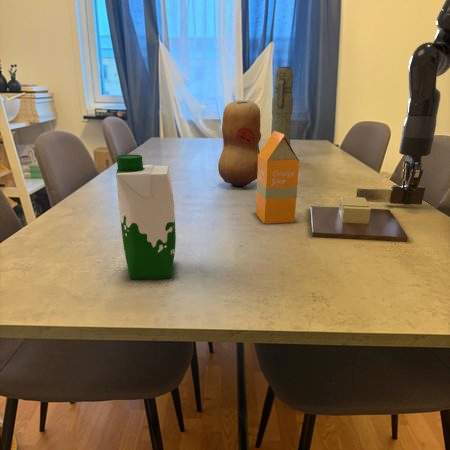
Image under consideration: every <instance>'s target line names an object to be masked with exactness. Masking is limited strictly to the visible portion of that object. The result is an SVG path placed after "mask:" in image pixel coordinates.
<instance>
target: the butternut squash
mask: <svg viewBox="0 0 450 450" xmlns="http://www.w3.org/2000/svg"><path fill="white" fill-rule="evenodd" d="M222 115H223V116H222V124H221V134H222V140H223V142H222V143H223V146H222V150H221V153H220V156H219V158H218V164H217V165H218V166H217V167H218V168H217V169H218V174H219V176H220V178H221V179H222V180H223V181H224V182H225V184H230V185H232V186H235V187H247V186H248V185H250V184H251V183H252V182H255V181H257V172H258V154H259V153H260V151H261V149H260V146H259V143H260V141H261V138H262V133H261V109H260V106H258V105H257V103H256V102H254V101H252V100H235V101H231V102H228V103H227V104H226V106H225V107H224V109H223V113H222Z"/></svg>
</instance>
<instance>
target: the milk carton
mask: <svg viewBox="0 0 450 450" xmlns="http://www.w3.org/2000/svg"><path fill="white" fill-rule="evenodd" d="M116 164H117V166H116V167H117V169H116V175H115V179H116V189H117V199H118V200H117V201H118V209H119V210H118V211H119V218H120V228H121V236H122V245H123V253H124V257H125V261H126V266H127V271H128V276H129V280H152V279H153V280H156V279H171V278H172V273H173V268H174V267H173V266H174V260H175V253H176V243H177V242H176V240H177V236H176V235H177V234H176V214H175V213H176V212H175V200H174V199H175V198H174V190H173V185H172V184H173V183H172V179H171V172H170V166H169V165H155V164H144V162H143V155H141V154H133V153H130V154H119V155H117V156H116Z"/></svg>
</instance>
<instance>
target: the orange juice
mask: <svg viewBox="0 0 450 450" xmlns="http://www.w3.org/2000/svg"><path fill="white" fill-rule="evenodd" d="M299 168H300V159H299V158H298V156H297V154H296V153H295V151H294V149H293V147H292V146H291V144H289V142H288V141H287V139H286V137H285V135H284V134H282V133H279V132H277V131H274V132H273V133H272V132H271V135H270V136H269V137H268V139H267V141H266V142H265V144H264V145H263V147H262V148H261V149H260V153H259V154H258V172H257V179H256V202H255V203H256V204H255V205H256V206H255V215H256V216H257V217H258V218H259V219H260V220H261V222H262V223H263V224H265V225H269V224H286V223H288V224H289V223H295V219H296V208H297V207H296V206H297V197H298V196H297V195H298V182H299Z"/></svg>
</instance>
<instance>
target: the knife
mask: <svg viewBox="0 0 450 450" xmlns="http://www.w3.org/2000/svg"><path fill="white" fill-rule="evenodd" d="M404 187H405V185H401V184H391V189H388V188H387V189H386V188H385V189H384V188H382V189H381V188H356V196H355V197H360V198H365V199H366V201H367V203H384V204H385V203H386V204H391V205H392V204H393V205H404V204H403V203H402V200H403V195H404ZM425 191H426V187H425V186H424V185H418V188H417V190H415V191H414V192H413V197H412V202H411V204H410V205H423V200H424V195H425Z"/></svg>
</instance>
